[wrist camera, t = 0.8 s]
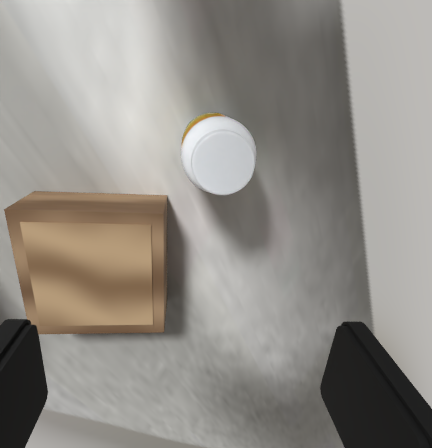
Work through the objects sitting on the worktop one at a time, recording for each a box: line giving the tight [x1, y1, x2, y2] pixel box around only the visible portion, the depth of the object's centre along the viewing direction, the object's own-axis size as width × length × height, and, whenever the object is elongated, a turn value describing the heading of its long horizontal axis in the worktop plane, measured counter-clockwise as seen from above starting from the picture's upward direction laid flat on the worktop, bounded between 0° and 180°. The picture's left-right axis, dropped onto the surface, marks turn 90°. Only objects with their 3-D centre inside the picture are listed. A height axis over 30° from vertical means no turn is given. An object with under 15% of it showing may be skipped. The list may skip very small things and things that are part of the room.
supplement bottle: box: [181, 113, 257, 195], centre depth 23 cm, size 5×5×10 cm
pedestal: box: [4, 191, 167, 334], centre depth 29 cm, size 12×12×5 cm
